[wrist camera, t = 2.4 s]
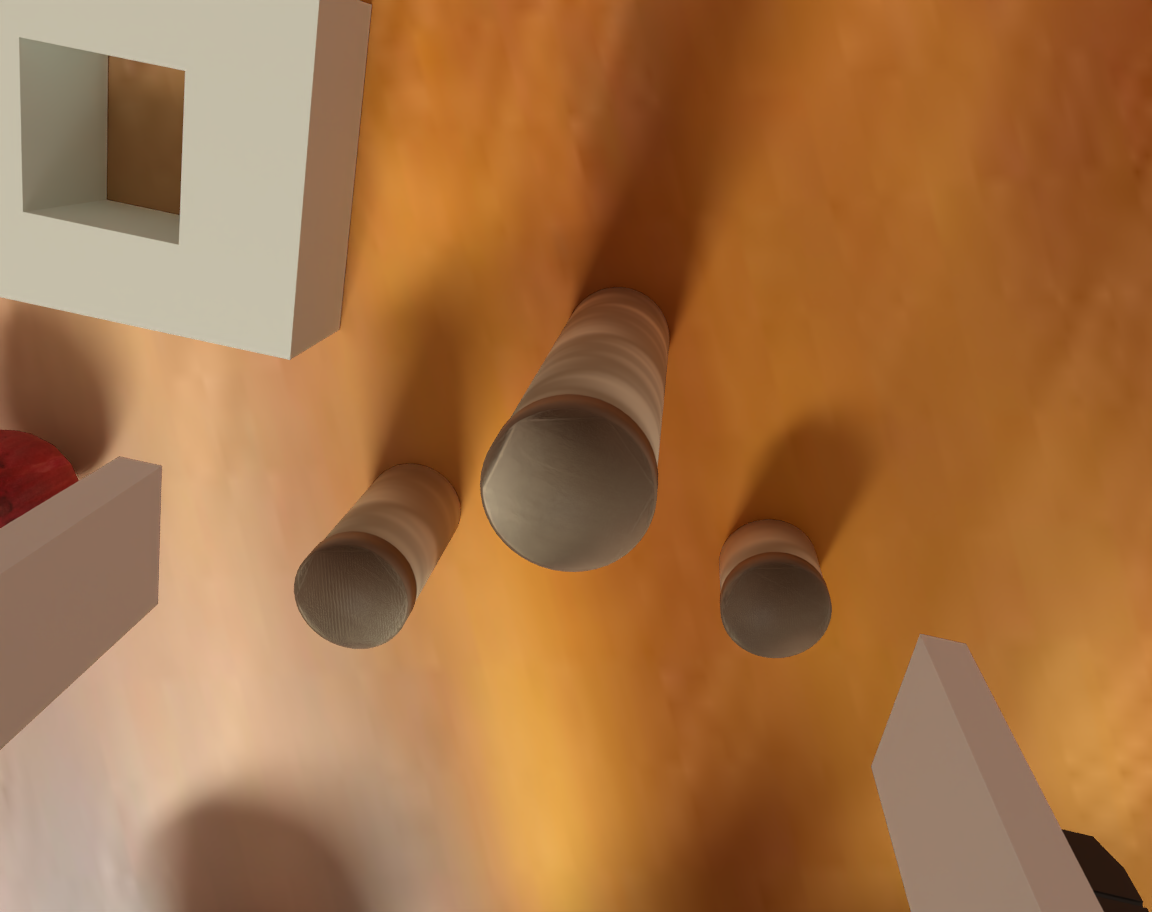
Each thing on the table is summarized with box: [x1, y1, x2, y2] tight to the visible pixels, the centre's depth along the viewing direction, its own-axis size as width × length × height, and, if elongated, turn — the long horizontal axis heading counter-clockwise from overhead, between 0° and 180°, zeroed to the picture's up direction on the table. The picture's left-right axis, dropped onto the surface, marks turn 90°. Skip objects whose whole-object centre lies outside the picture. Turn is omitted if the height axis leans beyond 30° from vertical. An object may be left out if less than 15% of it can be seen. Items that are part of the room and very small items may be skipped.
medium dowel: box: [294, 464, 461, 649], centre depth 37 cm, size 4×4×8 cm
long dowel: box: [480, 287, 669, 572], centre depth 29 cm, size 4×4×16 cm
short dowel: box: [719, 519, 832, 658], centre depth 37 cm, size 4×4×4 cm
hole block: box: [0, 0, 372, 360], centre depth 34 cm, size 14×12×5 cm
